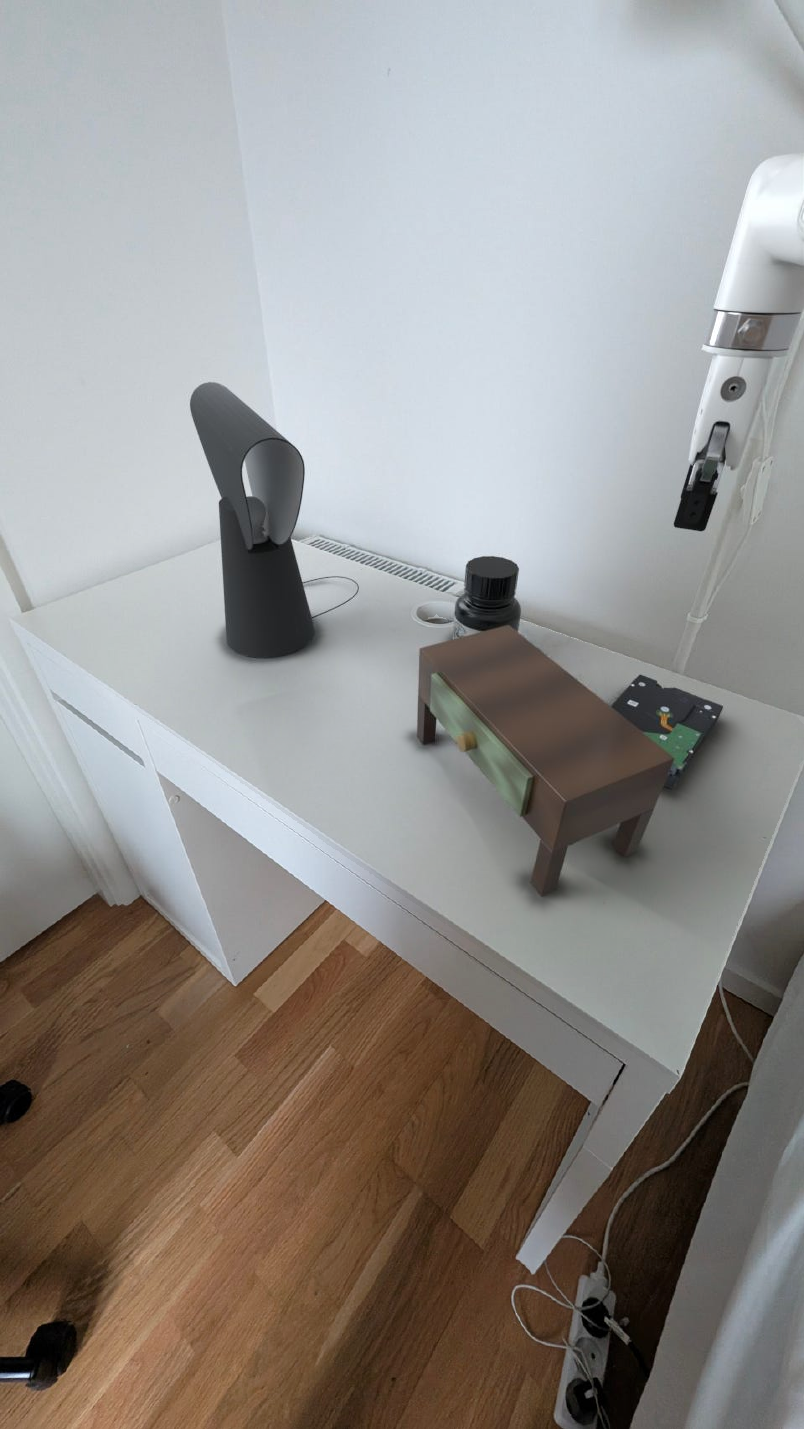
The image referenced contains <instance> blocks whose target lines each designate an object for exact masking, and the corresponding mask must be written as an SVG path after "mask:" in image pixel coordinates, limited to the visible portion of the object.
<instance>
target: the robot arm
mask: <svg viewBox="0 0 804 1429" xmlns="http://www.w3.org/2000/svg"><path fill="white" fill-rule="evenodd" d="M741 205H742V206H741V208H740V212H739V215H738V219H737V223H736V226H735V229H734V233H733V237H732V239H731V240H732V241H731V244H730V247H729V250H728V251H729V252H728V255H727V258H726V262H725V265H724V269H723V272H722V276H721V280H720V283H719V286H718V290H717V294H716V297H715V301H714V305H713V309H712V311H711V314H710V319H709V322H708V325H707V329H706V333H705V336H704V340H703V343H702V347H701V351H702V352H705V353H708V354H713V355H712V357H711V358H712V359H711V362H710V366H709V369H708V372H707V376H706V380H705V383H704V387H703V390H702V394H701V398H700V402H699V404H698V408H697V413H696V417H695V423H694V425H693V431H692V436H691V440H690V441H691V442H690V448H689V454H688V463H689V467H688V471H687V474H686V477H685V480H684V484H683V487H682V490H681V494H680V501H679V505H678V508H677V511H676V515H675V517H674V521H673V527H674V528H675V529H682V530H689V531H696V532H704V531H705V530H706V529H707V526H708V523H709V520H710V518H711V514H712V511H713V509H714V505H715V503H716V501H717V500H716V499H717V497H718V494H719V492H718V491H717V490H718V487H719V484H720V480H721V477H722V473H723V470H724V467H725V464H726V467H730V471H735V470H737V469H738V468H740V464H741V462H742V459H743V455H744V452H745V449H746V447H747V443H748V440H749V438H750V434H751V431H752V428H753V425H754V423H755V420H756V416H757V414H758V410H759V407H760V404H761V402H762V398H763V396H764V393H765V389H766V386H767V383H768V380H769V375H770V372H771V369H772V365H773V360H774V358H781V357H786V356H788V353H789V351H790V347H791V346H792V343H793V340H794V338H795V334H796V331H797V329H798V326H799V323H800V320H801V318H802V315H803V312H804V151H803V152H791V153H785V154H780V155H774V156H771V157H769V158H767V159H765V160H763V161H762V162H761V163H760V164H758V166H757V167H756V168H755V170H754V171H753V173H752V175H751V177H750V179H749V182H748V185H747V187H746V191H745V194H744V198H743V202H742V204H741Z"/></svg>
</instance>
